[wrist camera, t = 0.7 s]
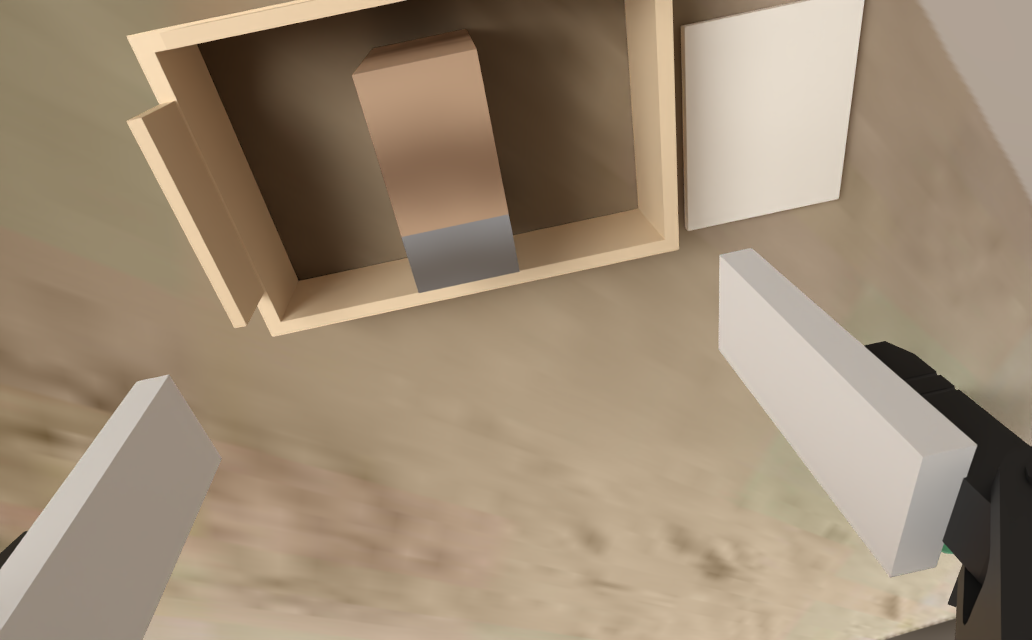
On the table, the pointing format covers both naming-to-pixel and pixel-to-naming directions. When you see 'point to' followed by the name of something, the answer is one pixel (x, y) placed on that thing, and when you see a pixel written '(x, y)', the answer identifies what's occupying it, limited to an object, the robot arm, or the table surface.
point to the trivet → (766, 108)
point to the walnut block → (438, 158)
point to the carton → (390, 286)
